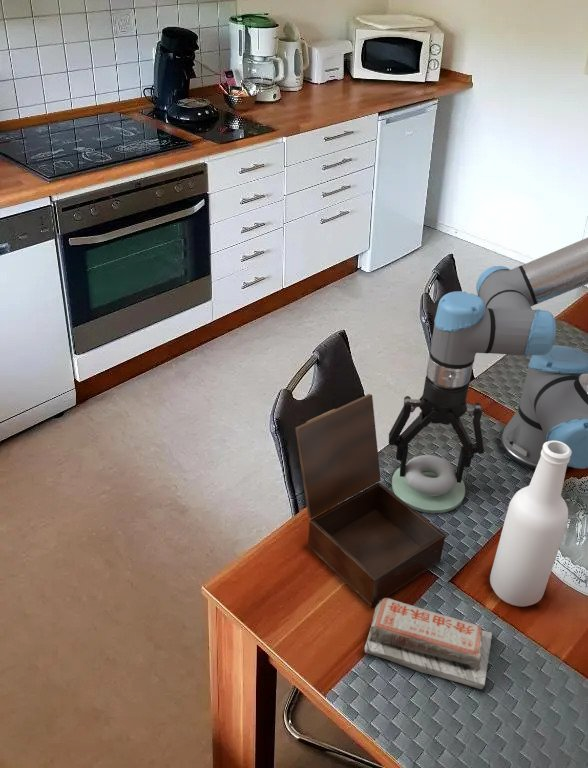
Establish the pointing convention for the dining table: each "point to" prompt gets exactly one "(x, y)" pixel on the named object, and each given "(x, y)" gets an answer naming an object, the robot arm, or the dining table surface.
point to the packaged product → (430, 642)
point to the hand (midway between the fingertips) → (430, 474)
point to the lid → (338, 454)
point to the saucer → (425, 501)
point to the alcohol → (532, 531)
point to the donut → (427, 484)
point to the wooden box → (375, 543)
